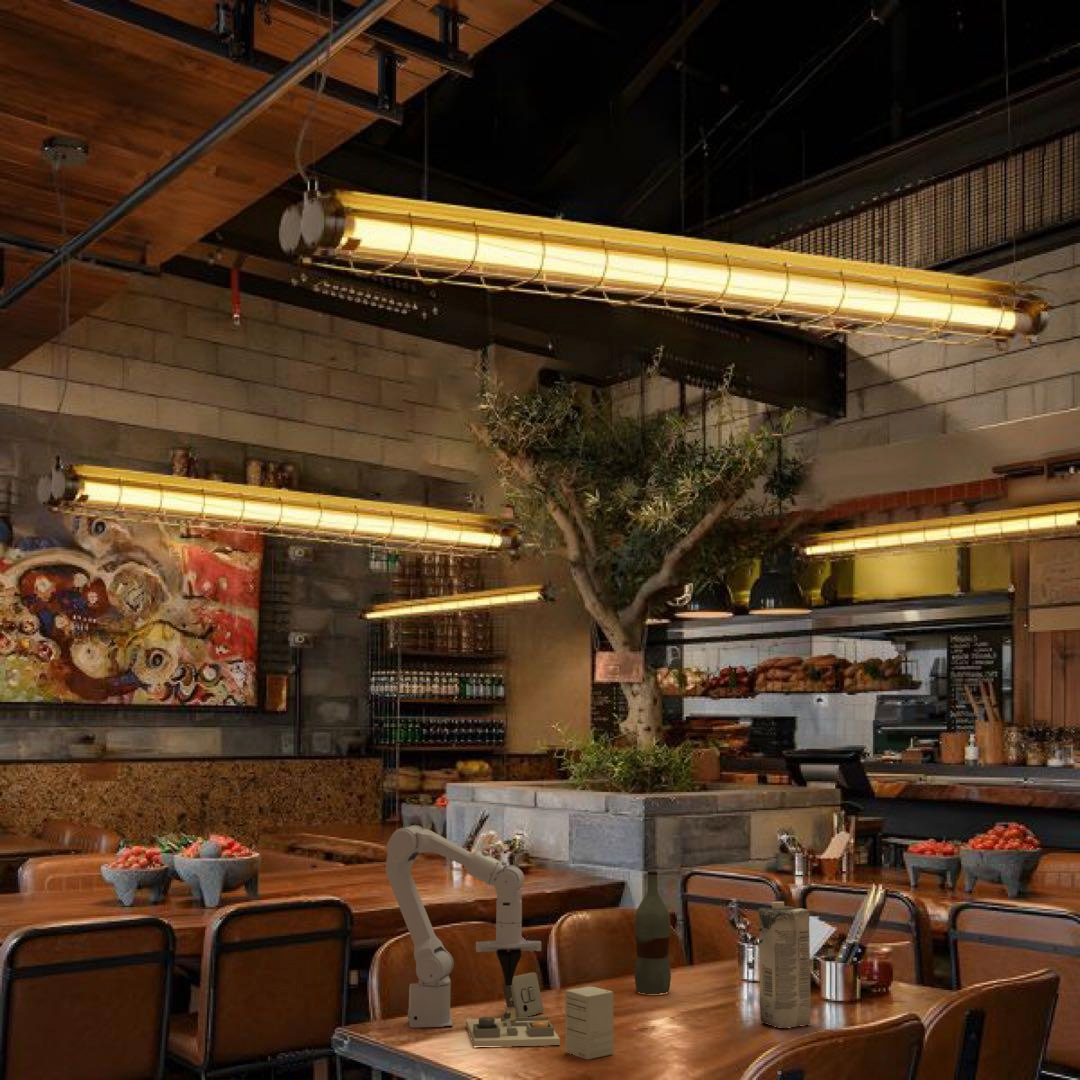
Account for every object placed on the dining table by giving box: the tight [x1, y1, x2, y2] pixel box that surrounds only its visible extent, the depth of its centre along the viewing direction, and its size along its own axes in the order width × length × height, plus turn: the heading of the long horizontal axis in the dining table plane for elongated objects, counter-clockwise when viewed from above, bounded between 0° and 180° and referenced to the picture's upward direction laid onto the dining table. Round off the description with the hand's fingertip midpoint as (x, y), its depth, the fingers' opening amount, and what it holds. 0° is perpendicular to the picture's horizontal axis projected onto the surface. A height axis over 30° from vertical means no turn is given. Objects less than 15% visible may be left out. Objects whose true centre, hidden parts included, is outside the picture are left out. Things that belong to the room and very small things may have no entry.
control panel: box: [465, 1016, 561, 1047], centre depth 292 cm, size 18×20×3 cm
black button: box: [478, 1016, 496, 1028], centre depth 286 cm, size 3×3×2 cm
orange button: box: [532, 1021, 548, 1028], centre depth 288 cm, size 3×3×2 cm
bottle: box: [634, 869, 672, 994], centre depth 340 cm, size 9×9×30 cm
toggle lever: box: [502, 1011, 512, 1030], centre depth 287 cm, size 2×2×4 cm
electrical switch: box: [502, 971, 545, 1017], centre depth 313 cm, size 9×5×9 cm, turn 141°
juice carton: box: [758, 901, 812, 1028], centre depth 306 cm, size 9×10×27 cm
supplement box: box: [564, 985, 615, 1061], centre depth 278 cm, size 7×7×13 cm
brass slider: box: [504, 1006, 516, 1022], centre depth 297 cm, size 2×3×3 cm, turn 8°
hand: (508, 984), depth 300 cm, fingers closed
